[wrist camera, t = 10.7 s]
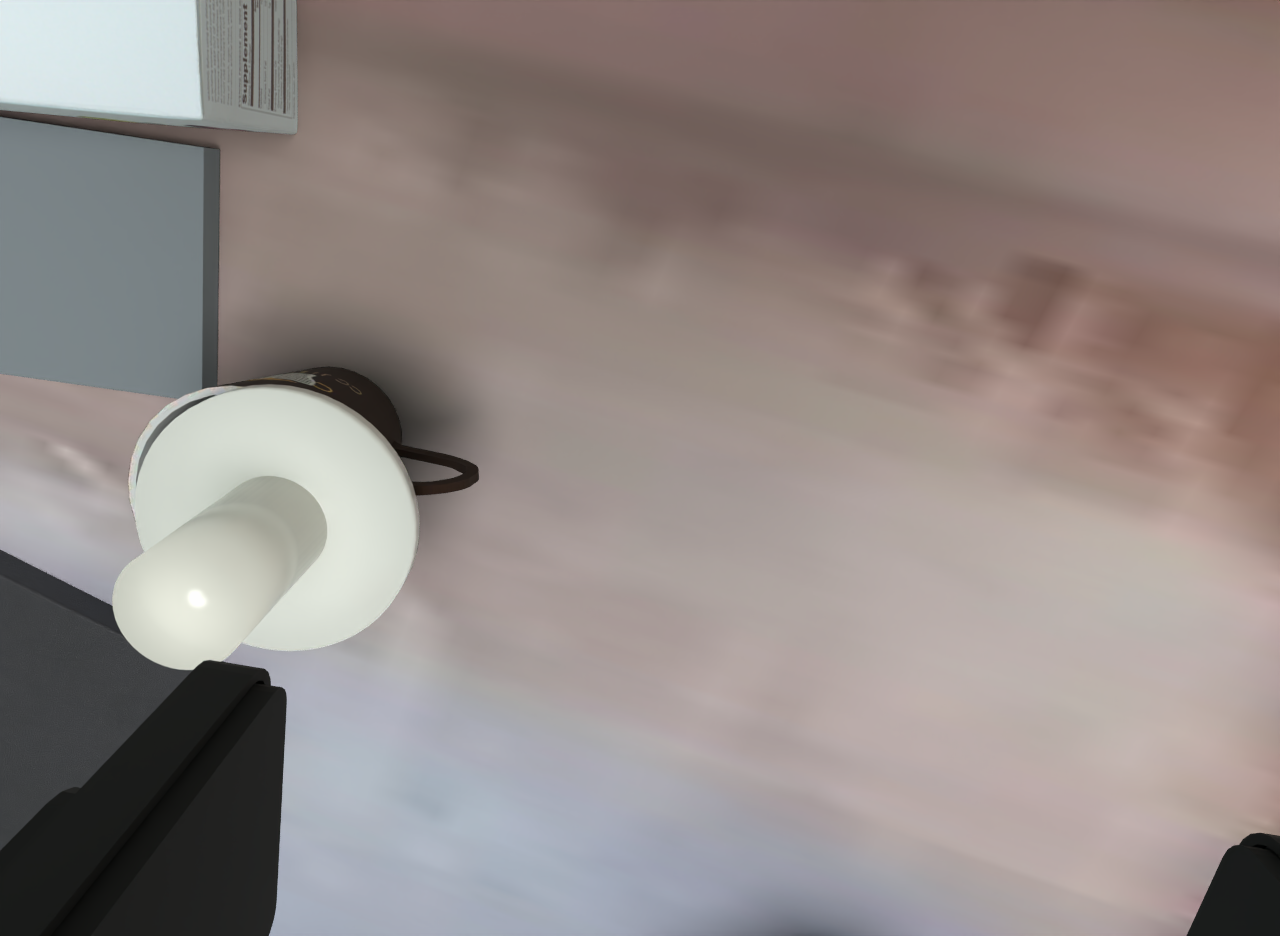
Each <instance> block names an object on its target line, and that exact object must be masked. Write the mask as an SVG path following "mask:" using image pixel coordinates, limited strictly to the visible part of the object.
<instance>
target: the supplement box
mask: <svg viewBox="0 0 1280 936" xmlns="http://www.w3.org/2000/svg"><path fill="white" fill-rule="evenodd" d="M0 110H8V111H18V112H29V113H39V114H50V115H60V116H71V117H82V118H92V119H103V120H113V121H124V122H136V123H148V124H160V125H172V126H185V127H198V128H211V129H224V130H237V131H252V132H269V133H280V134H296V133H297V127H298V85H297V3H296V0H0Z"/></svg>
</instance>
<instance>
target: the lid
mask: <svg viewBox="0 0 1280 936" xmlns="http://www.w3.org/2000/svg"><path fill="white" fill-rule="evenodd" d="M135 517H136V526H137V531H138V535H139V539H140V543H141V546H142V548H143V551H144V553H143V554H141V555H140V556H138V557H137V558H135V559H134V560H133V561H131V562H130V563H129V564H128V565H127V566H126V567H125V568H124V569H123V571H122V572H121V573H120V575H119V577H118V578H117V581H116V583H115V586H114V590H113V598H112V604H113V612H114V616H115V619H116V622H117V624H118V627H119V629H120V630H121V632H122V634H123V635H124V637H125V638H126V640H127V641H128V642H129V643H130V644H131V645H132V646H133V647H134V648H135V649H136V650H137V651H138V652H139V653H141V654H142V655H144V656H145V657H146V658H148V659H150V660H152V661H154V662H156V663H158V664H160V665H163V666H166V667H169V668H174V669H179V670H194V669H195V668H196V667H197V666H198V665H199V664H200V663H202V662H203V661H206V660H213V661H219V662H221V661H223V660H224V659H226V658H227V657H228V656H229V655H230V654H232V652H233V651H234V650H235V649H236V648H237V647H238V646H239V645H240V644H241V643H244V644H247V645H250V646H253V647H258V648H264V649H269V650H280V651H301V650H310V649H316V648H322V647H325V646H329V645H332V644H335V643H339V642H341V641H343V640H345V639H347V638H350V637H352V636H354V635H355V634H357V633H359V632H360V631H362V630H363V629H365V628H367V627H368V626H369V625H370V624H371V623H373V622H374V621H375V620H376V619H377V618H379V617H380V616H381V615H382V613H383V612H384V611H385V610H386V609H387V608H388V607H389V606H390V604H391V603H392V601H393V600H394V598H395V597H396V595H397V594H398V592H399V591H400V589H401V587H402V586H403V584H404V583H405V581H406V579H407V577H408V575H409V573H410V571H411V568H412V566H413V563H414V560H415V556H416V553H417V549H418V542H419V535H420V517H419V510H418V502H417V498H416V495H415V491H414V487H413V484H412V482H411V479H410V477H409V475H408V472H407V470H406V468H405V466H404V464H403V463H402V461H401V459H400V457H399V456H398V454H397V452H396V451H395V450H394V449H393V447H392V446H391V445H390V443H389V442H388V441H387V439H386V438H385V437H384V436H383V435H382V434H381V433H380V432H379V431H378V430H377V429H376V428H375V427H374V426H373V425H372V424H371V423H370V422H368V421H367V420H366V419H365V418H363V417H362V416H361V415H360V414H358V413H357V412H355V411H354V410H352V409H351V408H349V407H347V406H346V405H344V404H343V403H341V402H338V401H336V400H334V399H332V398H330V397H328V396H326V395H323V394H320V393H317V392H314V391H311V390H308V389H303V388H298V387H293V386H287V385H273V384H267V385H251V386H246V387H241V388H236V389H232V390H229V391H226V392H224V393H221V394H218V395H216V396H213V397H211V398H209V399H207V400H205V401H203V402H201V403H199V404H197V405H195V406H193V407H191V408H189V409H188V410H186V411H185V412H183V413H182V414H181V415H179V416H178V417H176V418H175V419H174V420H173V421H172V422H171V423H170V424H169V425H168V426H167V427H166V428H165V429H164V430H163V431H162V432H161V433H160V435H159V436H158V437H157V439H156V440H155V441H154V442H153V444H152V446H151V447H150V449H149V451H148V453H147V455H146V457H145V459H144V461H143V464H142V467H141V470H140V472H139V476H138V481H137V486H136V491H135Z"/></svg>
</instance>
